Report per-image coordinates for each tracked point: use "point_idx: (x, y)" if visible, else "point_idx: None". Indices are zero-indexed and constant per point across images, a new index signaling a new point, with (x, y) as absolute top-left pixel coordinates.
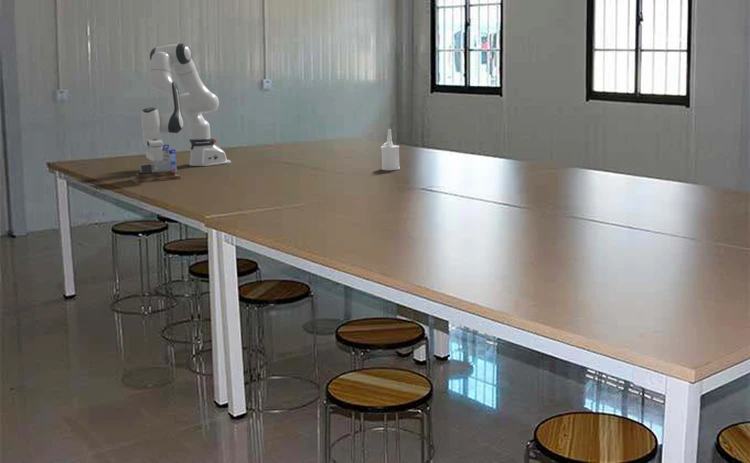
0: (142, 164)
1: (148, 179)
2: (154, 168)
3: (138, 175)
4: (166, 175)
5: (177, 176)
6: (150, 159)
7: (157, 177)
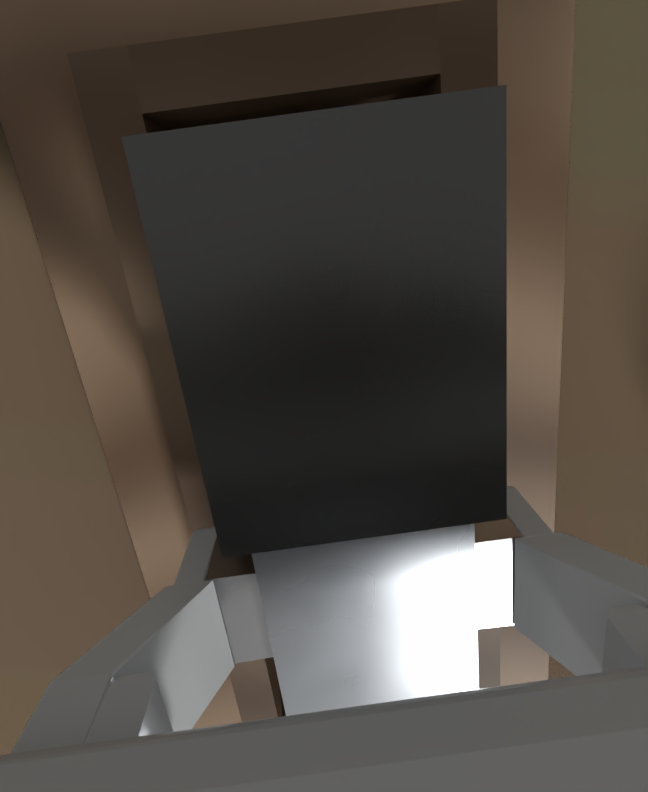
0: (448, 238)
1: (66, 306)
2: (187, 548)
3: (79, 66)
4: None
5: (195, 724)
6: (388, 713)
7: (156, 477)
